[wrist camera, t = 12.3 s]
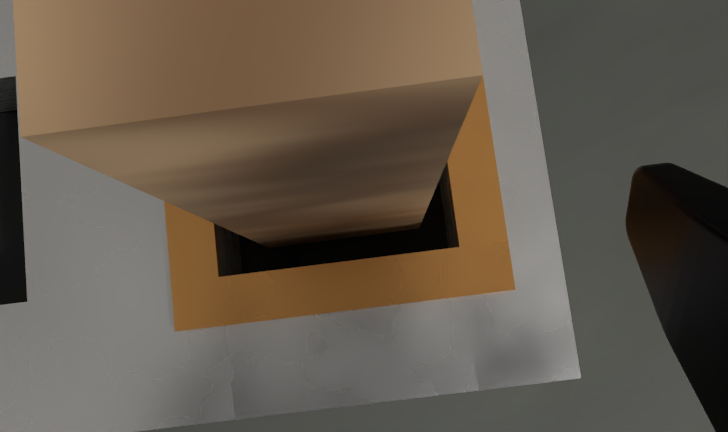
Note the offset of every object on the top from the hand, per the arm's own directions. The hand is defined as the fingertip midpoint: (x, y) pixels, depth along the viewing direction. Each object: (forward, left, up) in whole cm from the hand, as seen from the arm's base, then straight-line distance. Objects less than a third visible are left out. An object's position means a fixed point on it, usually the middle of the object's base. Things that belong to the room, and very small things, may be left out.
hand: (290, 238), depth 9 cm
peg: (+1, +3, -10) cm, 11 cm away
